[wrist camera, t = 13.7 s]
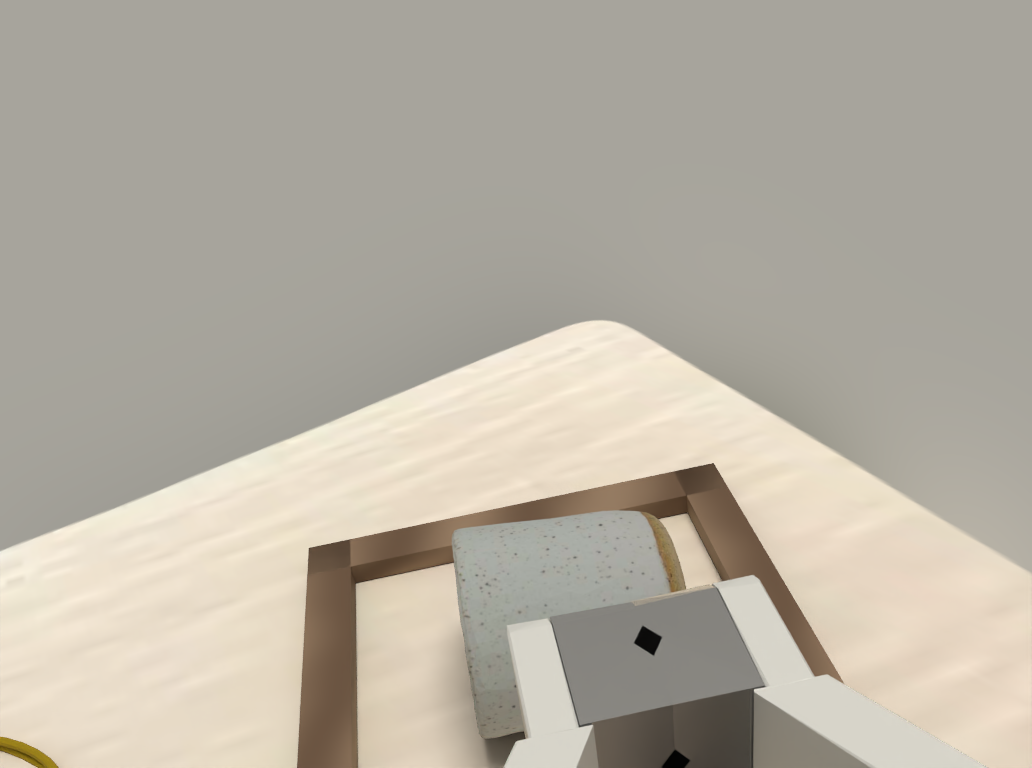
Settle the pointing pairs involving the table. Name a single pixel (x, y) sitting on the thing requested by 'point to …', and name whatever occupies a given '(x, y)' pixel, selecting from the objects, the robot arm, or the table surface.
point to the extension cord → (26, 753)
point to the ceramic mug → (548, 588)
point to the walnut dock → (342, 564)
